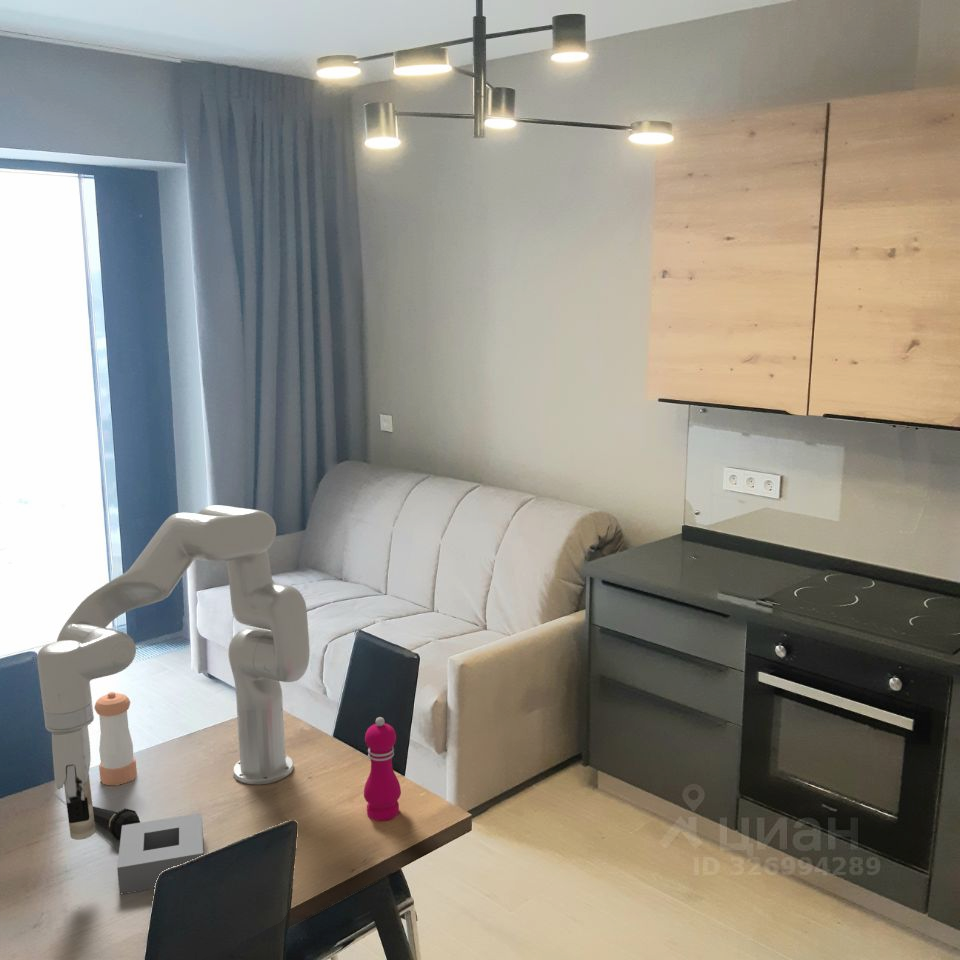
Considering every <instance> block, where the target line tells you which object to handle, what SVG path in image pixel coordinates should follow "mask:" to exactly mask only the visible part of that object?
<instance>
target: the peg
mask: <svg viewBox="0 0 960 960" xmlns="http://www.w3.org/2000/svg"><path fill="white" fill-rule="evenodd" d="M78 781H80V780H79V779H78V780H76V782H78ZM63 787H64V793H65V794H64V797H65V802H66V804H65V805H67V796H66V785H65V782H64V785H63ZM84 789H85V797H87V800H88V808H89V820H87V821H82V822H76V823H69V822H68V826H69V834H70V838H71V839H73V840H74V841H75V840H76V841H78V840H79V841H82V840H85V839H88V838H90V837H92V836H93V835H94V834H95V833H96V822H94V813H93V807H94V804H93V797H92V790H91V780H90V774H89V773H88V778H87V782H86V783H85V784H84ZM77 790H80V787H77ZM67 813H68V811H67ZM67 819H68V818H67ZM68 821H69V819H68Z"/></svg>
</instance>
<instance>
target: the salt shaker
mask: <svg viewBox="0 0 960 960" xmlns="http://www.w3.org/2000/svg"><path fill="white" fill-rule="evenodd" d="M130 705H131V701H130V698H129V697H128V696H127V694H125V693H119V692H114V691H110V692H108V693H107V694H105V695H102V696H101V697H99V698H98V699H97V700H96V702H95V704H94V708H93V709H94V711H95V712H96V714H97V715H98V717H99V729H100V737H99V749H98V750H99V752H98V753H99V758H100V759H99V760H100V763H99V765H98V766H99V769H98V770H99V780H101V781H100V783H101V782H102V783H104V784H106V785H105V786H108V785H116V786H121V785H120V784H122V785H124V784H123V783H125V784H128V783H130V782H132V781H133V780H135V779H136V777H137V776H136V775H137V774H138V772H137V770H138V769H137V760H136V758H135V756H134V744H133V739H132V736H131V732H130V728H129V719H128V710H129V708H130ZM132 779H133V780H132ZM131 780H132V781H131ZM129 781H130V782H129ZM127 782H128V783H127ZM102 783H101V784H102ZM104 784H103V785H104Z"/></svg>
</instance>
